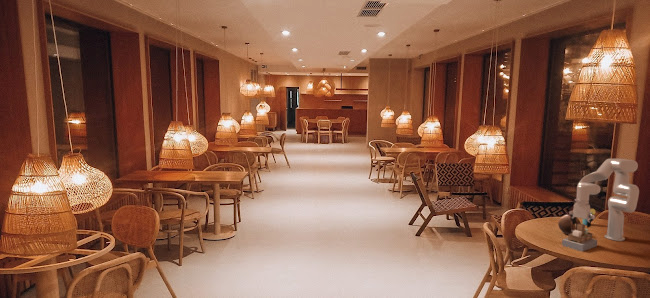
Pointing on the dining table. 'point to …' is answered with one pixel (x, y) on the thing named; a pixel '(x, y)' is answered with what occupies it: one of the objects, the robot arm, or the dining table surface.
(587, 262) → the dining table surface
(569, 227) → the wooden sphere
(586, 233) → the crate sage
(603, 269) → the dining table surface
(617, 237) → the robot arm
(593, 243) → the block
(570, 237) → the wooden caddy
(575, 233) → the crate white
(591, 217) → the cup
